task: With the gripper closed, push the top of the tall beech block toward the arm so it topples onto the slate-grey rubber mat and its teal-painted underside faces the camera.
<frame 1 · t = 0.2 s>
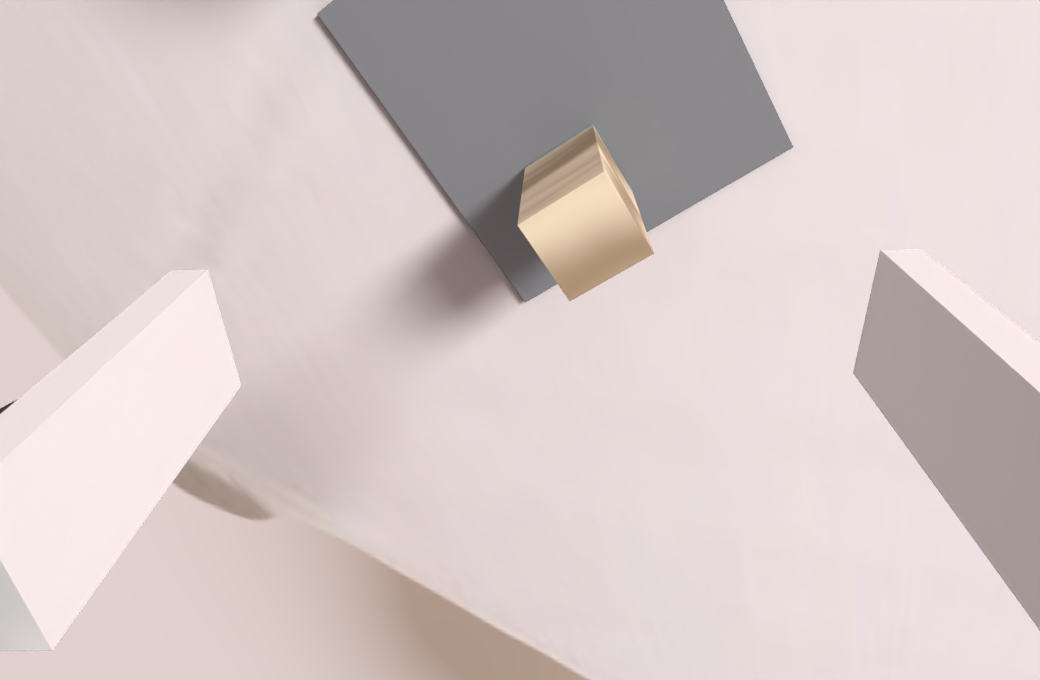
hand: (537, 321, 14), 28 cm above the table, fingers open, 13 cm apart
beech block: (578, 178, 40), resting on mat
mat: (562, 81, 38), on the table
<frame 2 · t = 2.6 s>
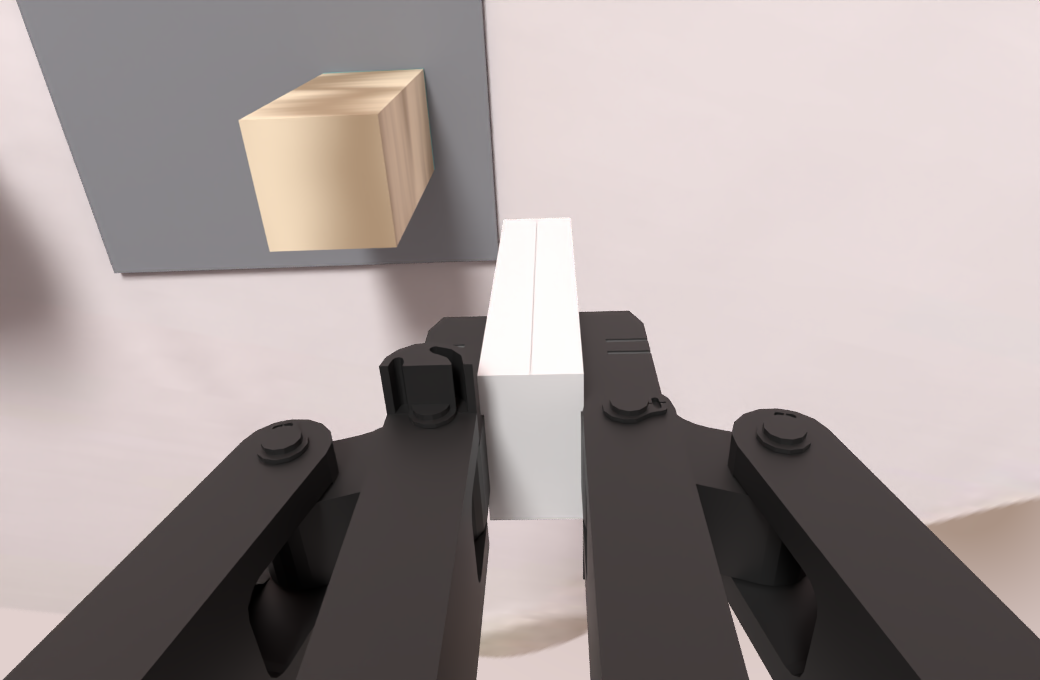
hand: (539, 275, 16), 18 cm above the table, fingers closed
beech block: (380, 122, 32), resting on mat
mat: (267, 80, 31), on the table
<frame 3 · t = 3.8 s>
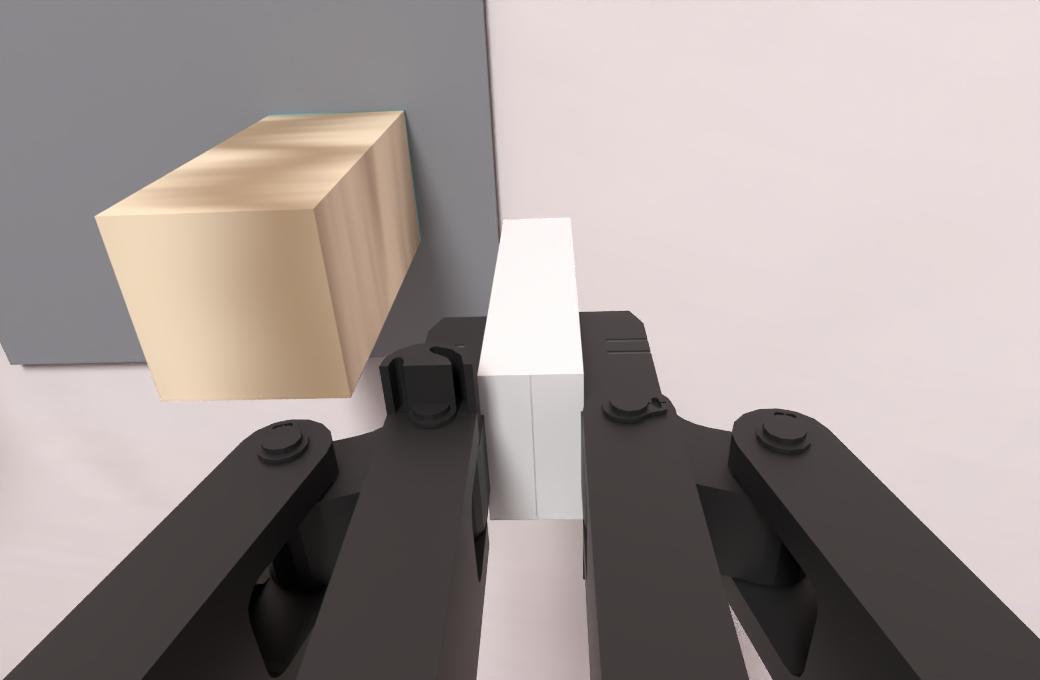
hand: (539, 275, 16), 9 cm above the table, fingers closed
beech block: (348, 180, 24), resting on mat
mat: (195, 123, 23), on the table
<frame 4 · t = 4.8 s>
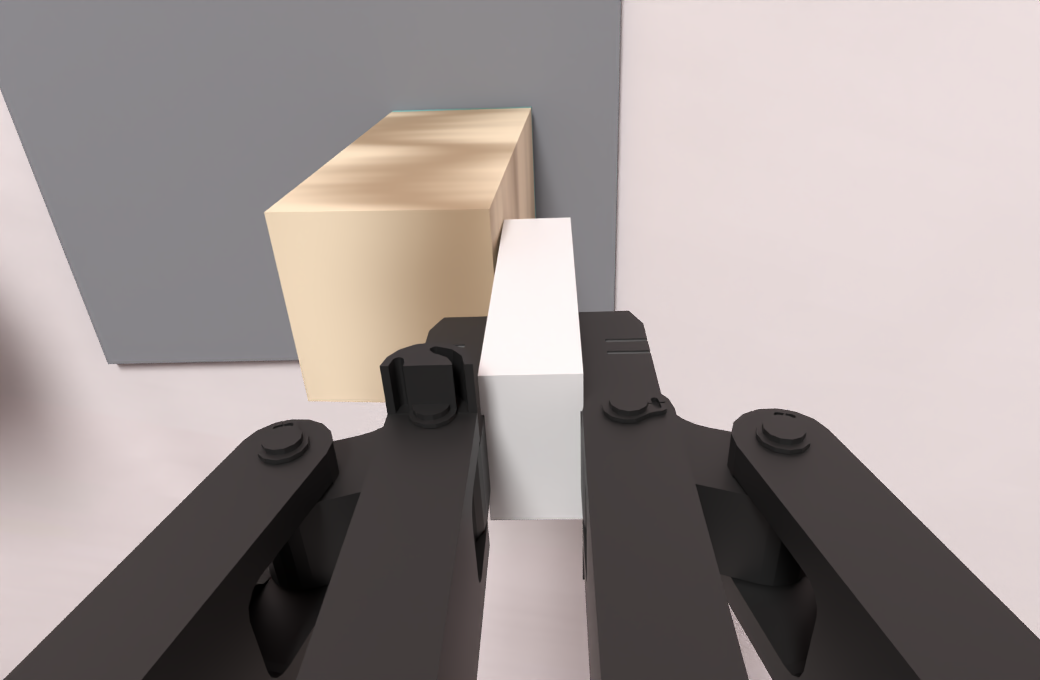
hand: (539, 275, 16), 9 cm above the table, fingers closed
beech block: (467, 178, 23), point 1 cm above the table, touching gripper, mat
mat: (314, 119, 23), on the table
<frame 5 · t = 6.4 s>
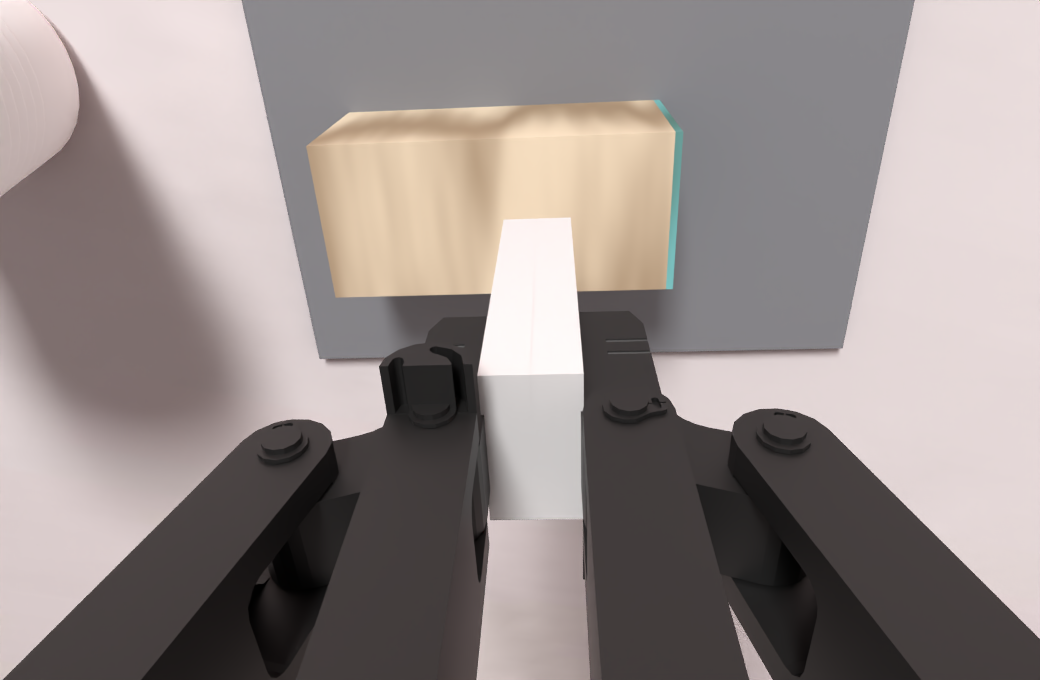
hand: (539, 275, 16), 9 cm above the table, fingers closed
beech block: (665, 190, 21), point 3 cm above the table, tilted 90°, touching mat
mat: (573, 108, 23), on the table
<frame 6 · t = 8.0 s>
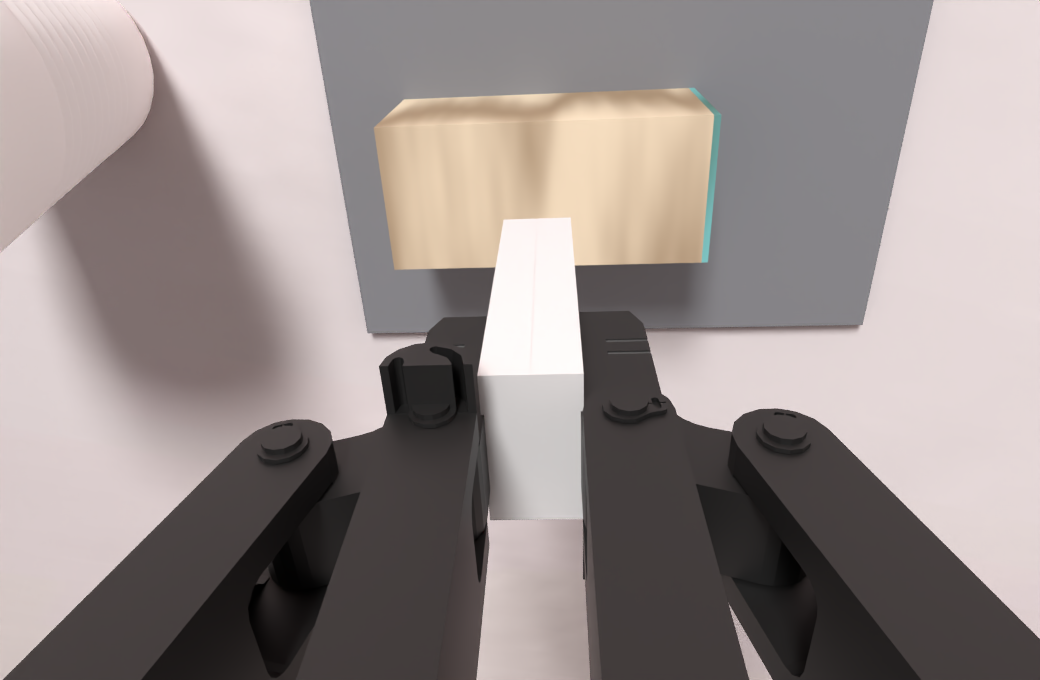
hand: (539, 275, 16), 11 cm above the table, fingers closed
beech block: (700, 171, 23), point 3 cm above the table, tilted 90°, touching mat
mat: (612, 96, 24), on the table
cup: (75, 58, 25), on the table
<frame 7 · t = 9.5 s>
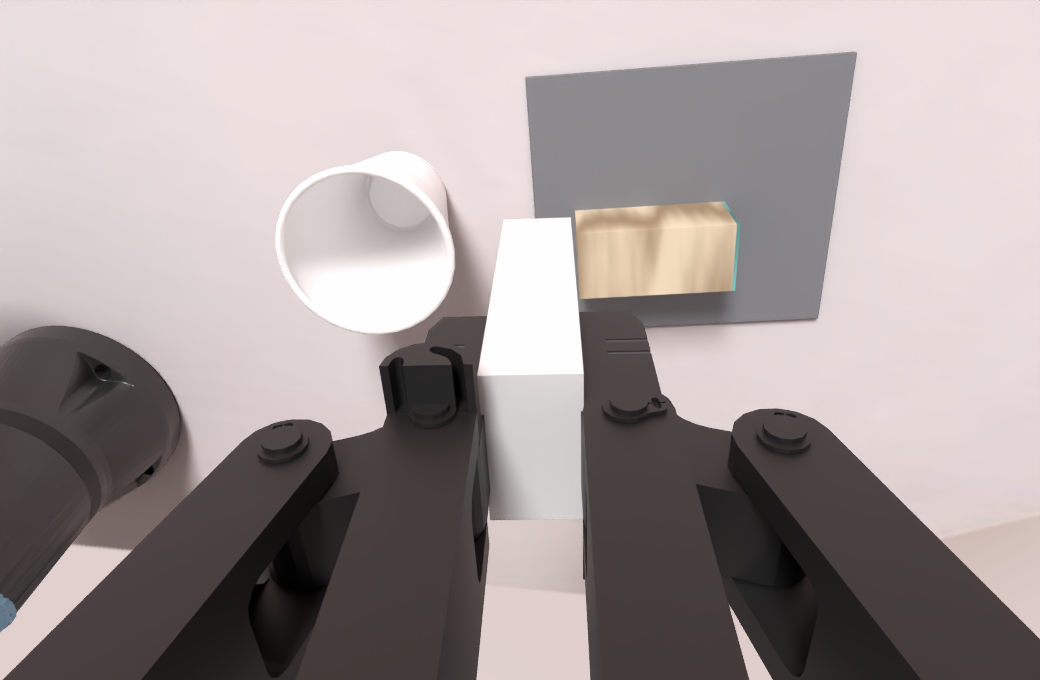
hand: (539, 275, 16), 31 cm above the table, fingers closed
beech block: (729, 245, 46), point 3 cm above the table, tilted 90°, touching mat
mat: (682, 205, 47), on the table
cup: (403, 193, 48), on the table
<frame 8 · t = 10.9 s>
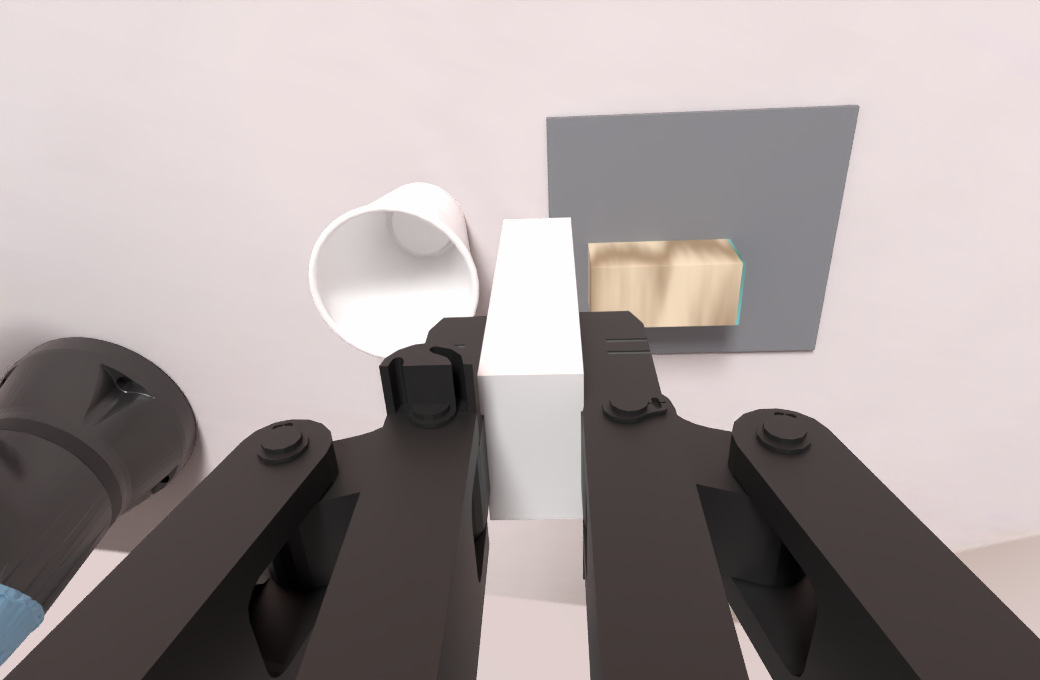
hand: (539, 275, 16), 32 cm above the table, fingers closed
beech block: (734, 281, 48), point 3 cm above the table, tilted 90°, touching mat
mat: (689, 241, 50), on the table
cup: (423, 222, 50), on the table
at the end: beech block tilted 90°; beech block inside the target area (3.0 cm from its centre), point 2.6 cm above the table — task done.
